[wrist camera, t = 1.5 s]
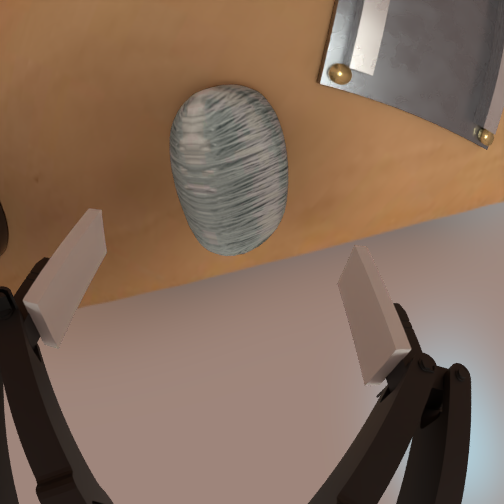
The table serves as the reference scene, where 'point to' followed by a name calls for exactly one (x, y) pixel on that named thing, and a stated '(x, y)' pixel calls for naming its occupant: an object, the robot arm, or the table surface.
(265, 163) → the grey rock
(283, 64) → the table surface
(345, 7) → the carrier
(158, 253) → the table surface
